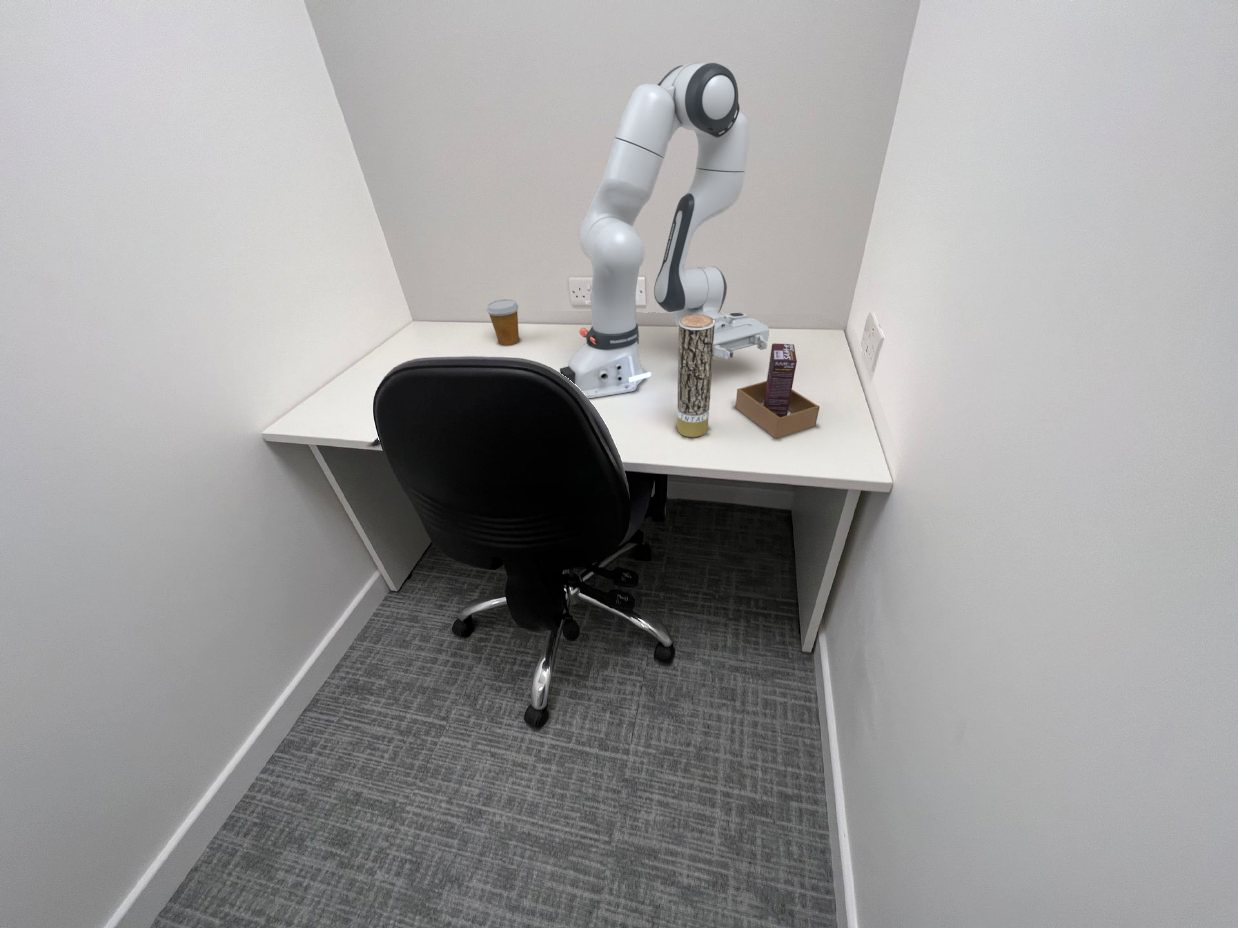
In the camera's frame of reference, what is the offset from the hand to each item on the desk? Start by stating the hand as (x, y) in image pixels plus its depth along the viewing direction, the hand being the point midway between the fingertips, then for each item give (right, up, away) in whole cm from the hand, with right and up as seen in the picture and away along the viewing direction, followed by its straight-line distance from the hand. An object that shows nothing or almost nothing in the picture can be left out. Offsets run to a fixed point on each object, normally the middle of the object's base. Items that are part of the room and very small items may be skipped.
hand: (747, 351), depth 115 cm
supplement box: (+5, -16, -2) cm, 17 cm away
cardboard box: (+5, -16, -2) cm, 17 cm away
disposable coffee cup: (-65, +12, +42) cm, 78 cm away
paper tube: (-14, -19, -5) cm, 24 cm away
